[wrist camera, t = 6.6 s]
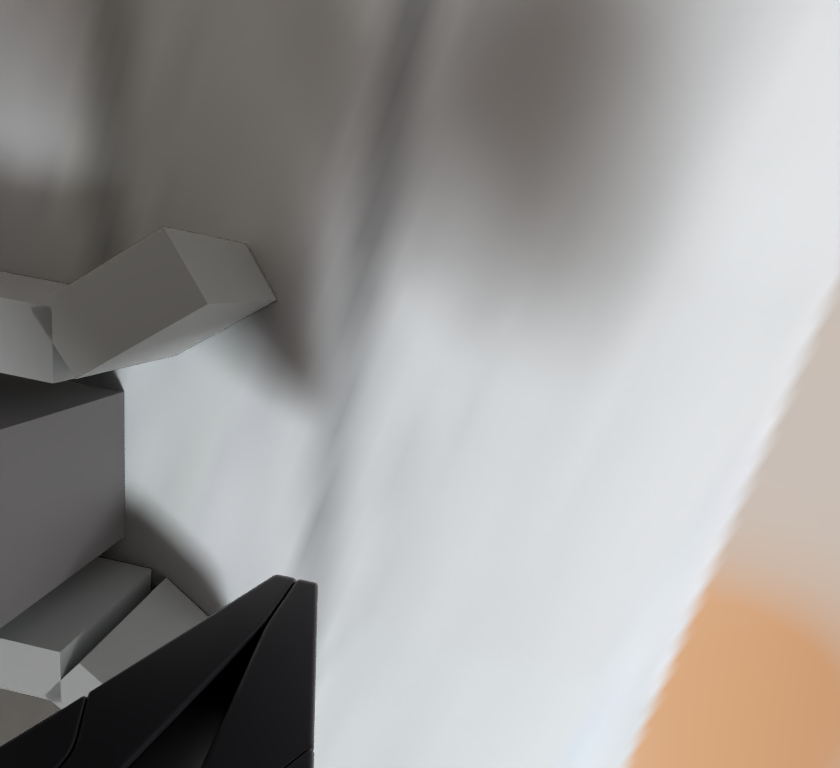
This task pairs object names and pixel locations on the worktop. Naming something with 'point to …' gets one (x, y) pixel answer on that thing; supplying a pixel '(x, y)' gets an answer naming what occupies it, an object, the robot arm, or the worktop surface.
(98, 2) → the worktop surface
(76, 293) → the grey blocky piece
